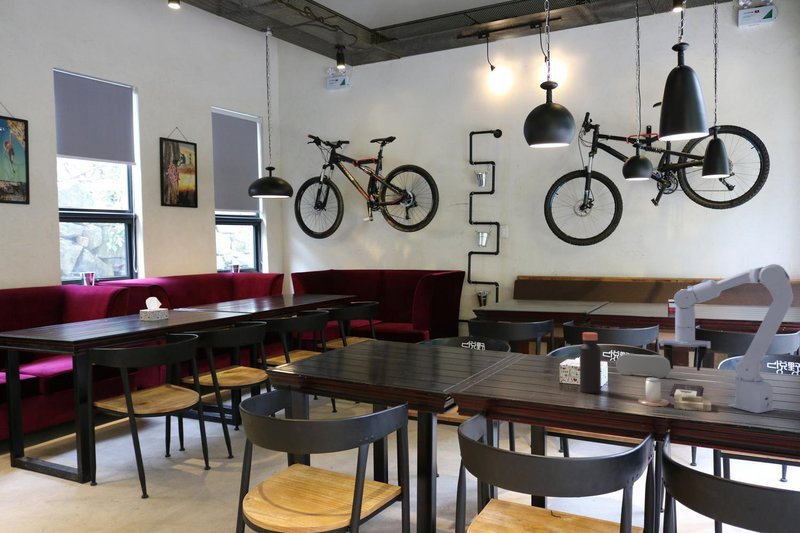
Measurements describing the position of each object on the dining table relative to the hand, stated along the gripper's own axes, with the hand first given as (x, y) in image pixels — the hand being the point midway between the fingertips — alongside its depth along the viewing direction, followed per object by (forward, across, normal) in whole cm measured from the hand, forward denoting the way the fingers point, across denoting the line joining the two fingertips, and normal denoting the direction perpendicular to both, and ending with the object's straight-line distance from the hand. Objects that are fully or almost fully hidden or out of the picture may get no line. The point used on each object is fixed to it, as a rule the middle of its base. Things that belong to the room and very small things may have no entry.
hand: (685, 369), depth 198 cm
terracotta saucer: (+10, -9, -7) cm, 15 cm away
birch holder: (+10, +2, -7) cm, 12 cm away
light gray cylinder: (+9, -9, -7) cm, 15 cm away
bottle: (+10, -29, +1) cm, 31 cm away
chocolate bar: (+11, +1, +12) cm, 16 cm away
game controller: (+10, -14, +34) cm, 38 cm away
